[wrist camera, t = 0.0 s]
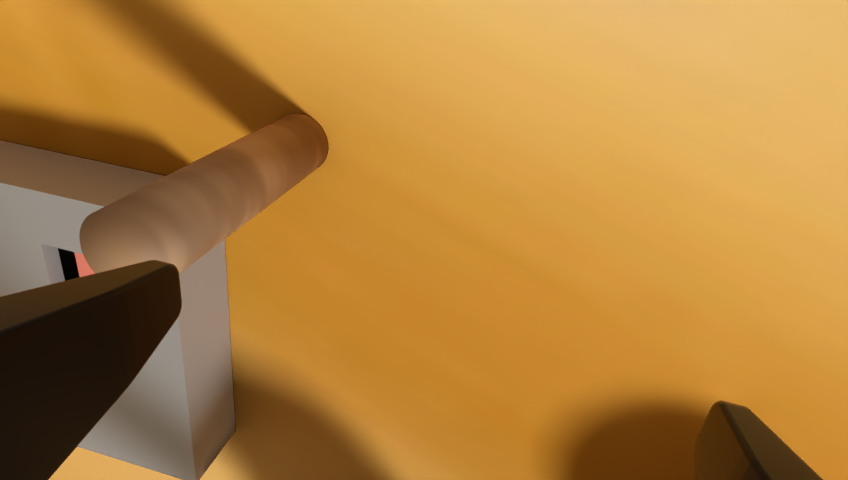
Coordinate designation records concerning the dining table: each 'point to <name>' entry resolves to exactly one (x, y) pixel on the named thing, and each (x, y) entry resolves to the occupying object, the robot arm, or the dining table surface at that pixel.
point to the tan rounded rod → (204, 198)
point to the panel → (180, 348)
